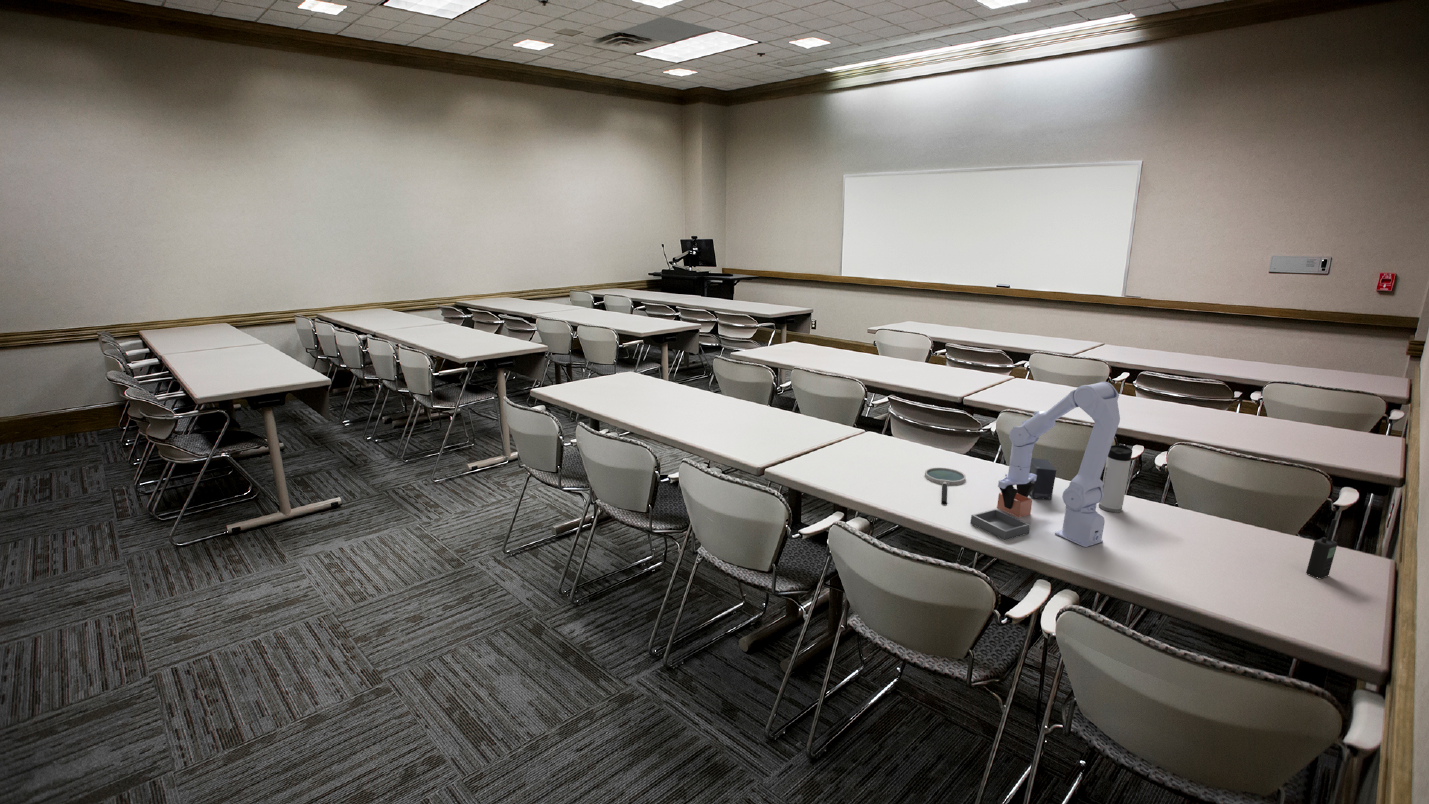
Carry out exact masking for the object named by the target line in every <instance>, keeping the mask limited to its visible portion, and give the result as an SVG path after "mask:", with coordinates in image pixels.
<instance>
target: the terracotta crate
mask: <svg viewBox="0 0 1429 804" xmlns="http://www.w3.org/2000/svg"><path fill="white" fill-rule="evenodd" d="M1032 505H1033V498H1031V497H1028V498H1027V497H1025V496H1023V495H1020V494H1018V493H1017V494H1016V496H1015V498H1014V502H1013V506H1012V508H1011V509H1008V508H1006V507H1004V500H1003V495H1002V492H1001V491H1000V492H999V493H998V498H997V505H996V509H998V510H999V509H1000V511H1002V512H1003V511H1004V513H1007V514H1009V515H1010V514H1011V516H1012V515H1013V517H1017V518H1023V517H1026V516H1029V515H1031V514H1032V513H1031V512H1032Z"/></svg>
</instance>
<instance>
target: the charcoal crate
mask: <svg viewBox="0 0 1429 804" xmlns="http://www.w3.org/2000/svg"><path fill="white" fill-rule="evenodd" d="M972 524H973V525H972ZM970 525H972V526H974V527H976V528H978V527H979V528H978V529H981V530H982V531H985V532H986V533H988V534H990V535H993V536H994V537H996V538H997V539H1001V540H1003V541H1008V540H1012V539H1014V538H1018V537H1021V536H1024V535H1028V534H1029V533H1030V529H1031V524H1030V523H1028V522H1025V521H1023V520H1022V519H1019V518H1018V517H1017V518H1016V516H1012V515H1010V514H1009V513H1007V512H1005V511H1004V512H1003V510H999V509H998V508H993V509H989V510H985V511H982V512H978V513H974V514H971V517H970Z"/></svg>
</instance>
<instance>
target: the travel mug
mask: <svg viewBox="0 0 1429 804" xmlns="http://www.w3.org/2000/svg"><path fill="white" fill-rule="evenodd" d="M1132 455H1133V449H1132V448H1131V447H1129V446H1127V444H1122V443H1121V444H1115V445H1113V444H1112V445H1111V448H1110V451H1109V454H1108V457H1107V460H1106V462H1105V465H1104V471H1103V472H1104V473H1103V479H1102V482H1103V483H1104V484H1103V487H1102V491H1103V498H1102V500H1101V501H1100V502H1099V503H1098V507H1099V508H1100V509H1101V510H1103V511H1106V512H1109V513H1120V512H1122V510H1123V505H1124V500H1125V495H1126V489H1127V484H1128V478H1129V474H1130V468H1131V462H1132Z"/></svg>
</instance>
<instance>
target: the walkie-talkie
mask: <svg viewBox="0 0 1429 804" xmlns="http://www.w3.org/2000/svg"><path fill="white" fill-rule="evenodd" d="M1336 525H1337V519H1335V518H1333V519H1332V520H1331V523H1330V526H1329V531H1328V534H1327V537H1324V536H1323V537H1321V538H1319V539H1315V540H1314V542H1313V545H1312V548H1311V549H1312V550H1311V554H1310V557H1309V561H1308V564H1307V567H1306V573H1307V574H1306V573H1305V574H1306V575H1308V574H1310V575H1312V576H1311V577H1313V576H1314V577H1313V578H1315V577H1318V578H1321V579H1323V577H1324V578H1326V576H1327V577H1328V575H1329V576H1330V572H1331V568H1332V565H1333V561H1334V559H1335V558H1334V557H1335V554H1336V551H1337V548H1338V542H1337V541H1335V540H1332V539H1333V536H1334V535H1333V534H1334V532H1335V529H1336ZM1310 575H1309V576H1310ZM1318 578H1317V579H1318Z"/></svg>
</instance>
